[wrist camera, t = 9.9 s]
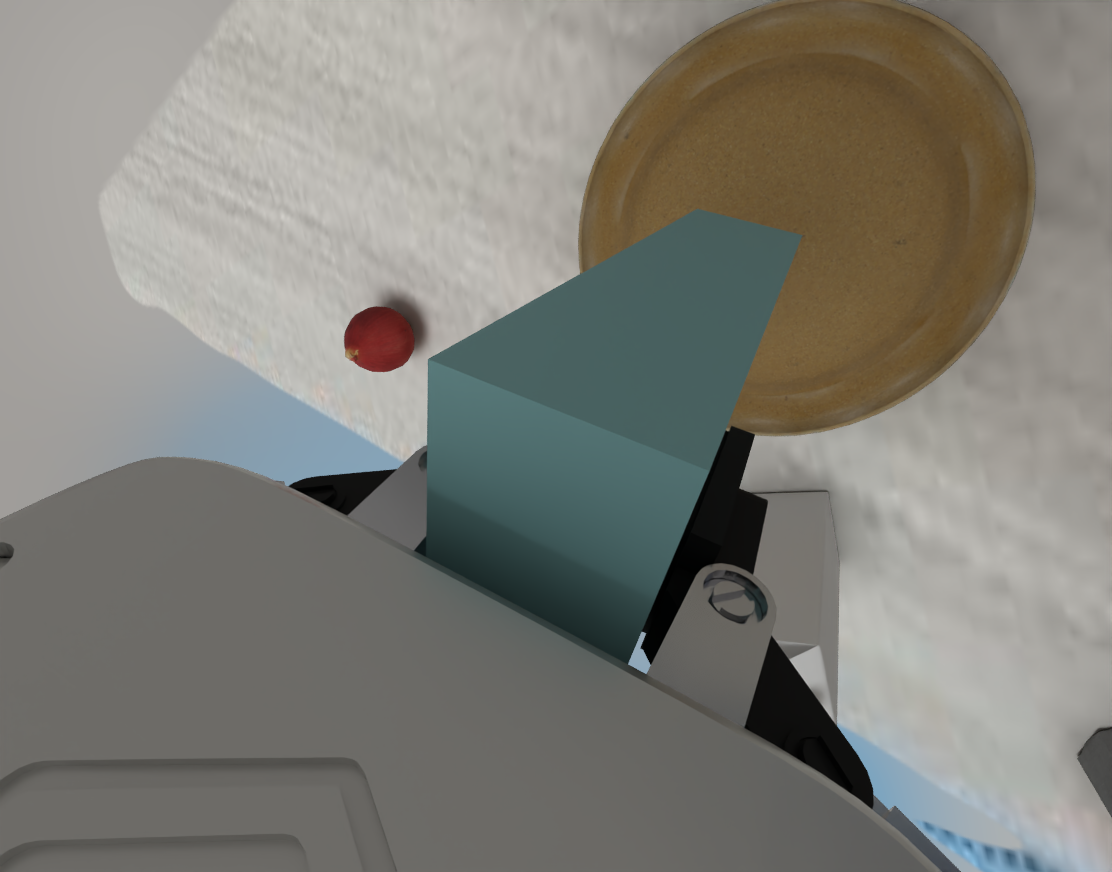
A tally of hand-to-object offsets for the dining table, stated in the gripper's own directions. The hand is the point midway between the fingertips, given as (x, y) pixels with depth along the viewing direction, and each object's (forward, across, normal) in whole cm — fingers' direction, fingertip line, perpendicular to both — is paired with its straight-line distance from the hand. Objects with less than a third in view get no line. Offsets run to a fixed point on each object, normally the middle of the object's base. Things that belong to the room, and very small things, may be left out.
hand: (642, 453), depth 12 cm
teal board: (+6, 0, 0) cm, 6 cm away
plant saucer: (+27, 0, 0) cm, 27 cm away
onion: (+27, +29, +15) cm, 42 cm away
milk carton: (+27, -9, +20) cm, 35 cm away
